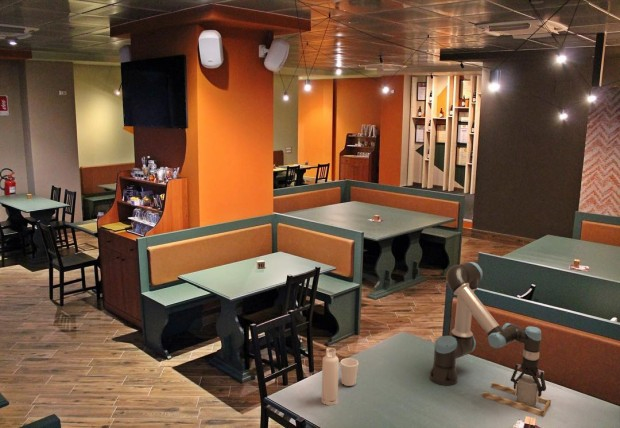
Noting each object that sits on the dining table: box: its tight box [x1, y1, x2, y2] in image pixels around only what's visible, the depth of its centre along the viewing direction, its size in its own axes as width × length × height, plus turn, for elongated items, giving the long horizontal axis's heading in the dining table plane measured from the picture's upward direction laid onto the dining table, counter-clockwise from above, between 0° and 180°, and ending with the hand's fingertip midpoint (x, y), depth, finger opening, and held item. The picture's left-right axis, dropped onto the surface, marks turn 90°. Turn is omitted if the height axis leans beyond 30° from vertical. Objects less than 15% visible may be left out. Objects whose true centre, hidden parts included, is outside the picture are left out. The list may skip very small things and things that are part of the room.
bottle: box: [321, 347, 340, 406], centre depth 273 cm, size 8×8×28 cm
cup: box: [339, 357, 360, 388], centre depth 293 cm, size 10×10×13 cm
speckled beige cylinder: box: [515, 374, 538, 408], centre depth 276 cm, size 10×10×12 cm
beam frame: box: [482, 381, 552, 418], centre depth 279 cm, size 30×14×3 cm, turn 53°
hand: (526, 398), depth 276 cm, fingers closed on speckled beige cylinder, 9 cm apart
